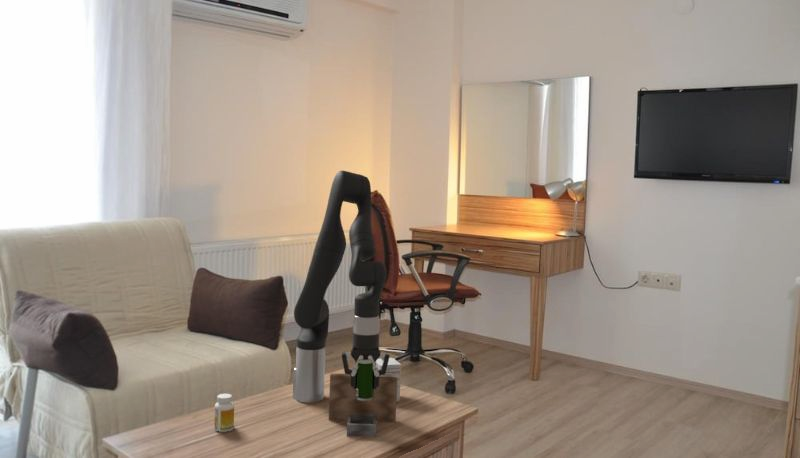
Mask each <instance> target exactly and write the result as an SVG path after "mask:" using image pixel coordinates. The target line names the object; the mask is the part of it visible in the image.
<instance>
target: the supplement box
mask: <svg viewBox="0 0 800 458" xmlns="http://www.w3.org/2000/svg"><path fill="white" fill-rule="evenodd" d="M376 364H377V367H378V370H380V369H382V365H383V360H382V358H378V359H377V360H376ZM374 375H375V374H374ZM385 375H397V377H398V378H397V401H396V402H400V400H401V376H402V364H401V363H400V362H399V361H398V360H396V359H395V358H394V357H389V361H388V365H387V369H386V374H385Z"/></svg>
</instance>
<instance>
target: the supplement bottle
mask: <svg viewBox="0 0 800 458" xmlns="http://www.w3.org/2000/svg"><path fill="white" fill-rule="evenodd" d="M216 397H217V399H216V403H215V404H214V423H213V424H214V427H213V428H214V430H215V431H216V432H218V431H219V432H220V433H226V432H227V431H228V432H231V431H233V429H234V427H235V404H234V402H233V401H232V400H233V395H232V394H231V393H220V394H218V395H217V396H216ZM228 432H227V433H228Z"/></svg>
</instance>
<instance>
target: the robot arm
mask: <svg viewBox="0 0 800 458" xmlns="http://www.w3.org/2000/svg"><path fill="white" fill-rule="evenodd" d="M371 187H372V186H371V182H370V179H369V178H368V177H367V176H366V175H364V174H363V175H362V174H360V173H359V174H358V173H355V172H351V171H347V170H339V171H338V172H336V174H335V176H334V178H333V180H332V183H331V187H330V192H329V196H328V200H327V205H326V209H325V213H324V218H323V221H322V225H321V227H320V232H319V235H318V237H317V240H316V243H315V246H314V250H313V252H312V253H313V254H312V257H311V261H310V264H309V267H308V271H307V275H306V278H305V282H304V285H303V288H302V289H301V292H300V294H299V297H298V299H297V301H296V304H295V307H294V310H293V317H294V321H295V322H296V324H297V326H299V327H300V330H299V334H298V336H297V338H296V349H295V350H296V353H295V354H296V355H295V356H296V357H295V359H296V361H295V365H296V366H295V367H294V368H293V372H292V373H293V377H292V379H293V380H292V381H293V382H292V397H293V398H295V400H296V401H298V402H301V403H310V404H311V403H318V402H320V401H321V402H322V401H323V400H324V397H325V375H326V374H325V372H326V371H325V369H326V368H325V367H326V366H325V365H326V341H327V338H328V334H329V323H330V322H329V321H330V308H329V304H328V303H327V300H326V299H325V294H326V293H327V289H328V287H329V285H330V284H331V283H332V281H333V280H334V278H335V276H336V275H337V272H338V270H339V268H340V267H341V264H342V261H343V257H344V255H345V252H346V248H347V240H346V235H345V232H344V227H343V224H342V220H341V218H342V217H341V213H342V205H343V203H344V202H345V203H350V204H354V205H356V207H357V214H356V217H355V219H354V220H353V222H352V223H351V225H350V228H349V231H348V239H349V246H350V250H351V251H350V253H351V259H350V266H349V271H348V278H349V281H350V283H351V284H352V285H353V286H355V287H370V289H369V290H368V291H367V292H363V293H359V294H357V295H356V296H355V298H354V308H353V309H354V314H353V316H354V317H353V322H352V349H350V351H342V353H341V361H342V364H343V370H344V374H349V375H350V376H351V387H353V389H355V388H356V372H357V369H358V366H357V365H358V362H359V361H360V359H371V360H370V361H372V362H373V365H374V366H373V370H374V374H375V375H374V389H376V387H378V386H379V376H380V375H385V374H386V369H387V365H388V361H389V358H390V353H389V352H381V350H380V331H381V330H380V329H381V327H380V325H381V324H380V302H381V296H382V292H383V288H384V285H385V282H386V279H387V268H386V265H385V263H383V262H382V261H379V260H373V261H372V260H371V261H370V259H372V258H373V257H375V255H376V244H375V238H374V233H373V228H372V227H373V226H372V189H371ZM368 260H369V261H368ZM350 357H352V359H353V360H354V364H353V367H352V368H350V367H349V360H350ZM380 357H381V359H382V360H383V365H382V369H380V370H378V367H377V364H376V360H377V359H380Z"/></svg>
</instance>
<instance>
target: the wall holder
mask: <svg viewBox="0 0 800 458" xmlns="http://www.w3.org/2000/svg"><path fill="white" fill-rule="evenodd" d="M329 374H330V375H329V397H328V398H329V399H328V400H329V402H328V403H329V404H328V405H329V406H328V421H331V422H334V421H336V422H340V421H341V422H346V437H353V438H354V437H358V438H359V437H361V438H376V437H377V435H376V434H377V432H376V431H377V423H396V421H397V420H396V419H397V402H398V401H397V378H398V377H397V375H380V376H379V386H378V387H376V389H374V397H373V399H372V400H369V401H361V400H358V399H356V396H355V389H353V387H351V376H350V375H349V374H345V373H333V372H330V373H329Z"/></svg>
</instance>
